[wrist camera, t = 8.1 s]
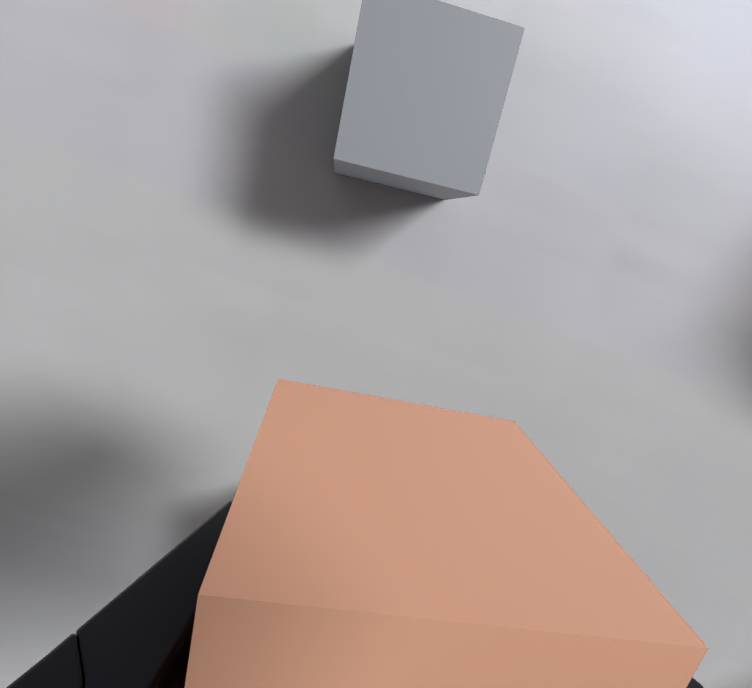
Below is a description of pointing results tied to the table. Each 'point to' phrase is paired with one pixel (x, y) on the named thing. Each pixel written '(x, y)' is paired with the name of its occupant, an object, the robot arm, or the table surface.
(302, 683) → the terracotta cube
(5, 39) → the table surface
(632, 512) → the table surface
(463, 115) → the grey cube
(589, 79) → the table surface
